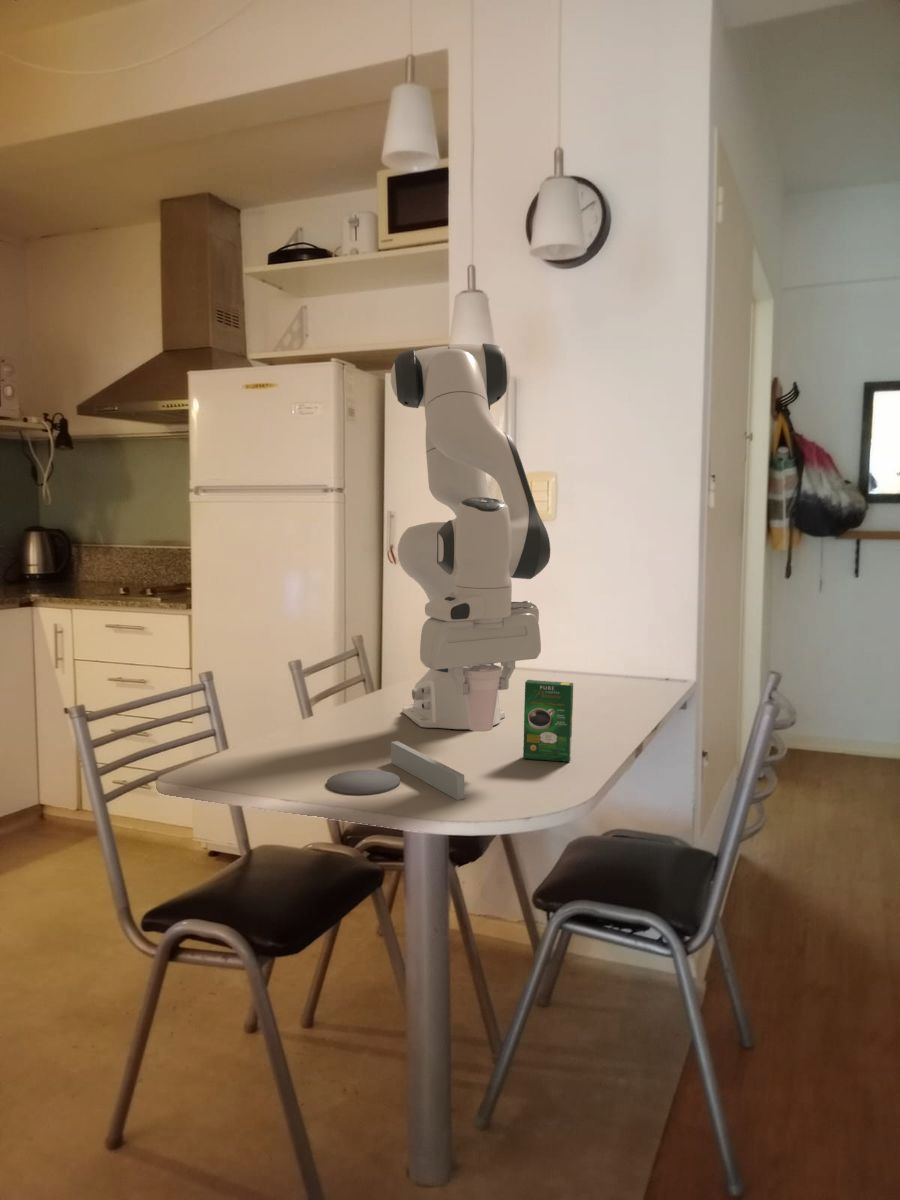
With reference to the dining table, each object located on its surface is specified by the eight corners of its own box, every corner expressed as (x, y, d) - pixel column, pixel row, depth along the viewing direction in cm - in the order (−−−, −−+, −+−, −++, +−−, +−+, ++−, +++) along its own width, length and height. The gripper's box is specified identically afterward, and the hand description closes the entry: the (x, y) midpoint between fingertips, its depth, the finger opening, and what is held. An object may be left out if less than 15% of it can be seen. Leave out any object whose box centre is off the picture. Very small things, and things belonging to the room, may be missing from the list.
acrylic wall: (391, 762, 148) (391, 741, 147) (397, 761, 148) (397, 741, 148) (457, 800, 129) (457, 776, 128) (464, 798, 129) (464, 774, 129)
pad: (316, 779, 139) (316, 776, 139) (381, 769, 144) (381, 766, 144) (343, 799, 129) (343, 795, 129) (412, 787, 135) (412, 784, 135)
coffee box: (573, 758, 150) (574, 680, 149) (571, 763, 147) (572, 684, 146) (525, 755, 152) (526, 678, 151) (522, 759, 149) (522, 681, 148)
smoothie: (499, 722, 144) (501, 636, 142) (502, 734, 138) (504, 644, 136) (459, 722, 144) (460, 636, 142) (461, 734, 138) (462, 644, 136)
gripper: (527, 597, 146) (525, 681, 148) (415, 605, 136) (415, 694, 138) (549, 602, 141) (548, 688, 143) (435, 610, 131) (434, 703, 133)
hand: (481, 691), depth 140 cm, fingers closed on smoothie, 6 cm apart
